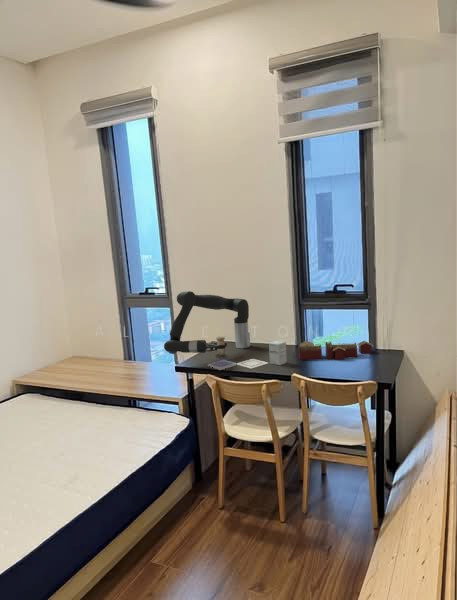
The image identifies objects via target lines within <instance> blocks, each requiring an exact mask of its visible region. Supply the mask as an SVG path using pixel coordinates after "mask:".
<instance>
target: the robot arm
mask: <svg viewBox="0 0 457 600" xmlns="http://www.w3.org/2000/svg"><path fill="white" fill-rule="evenodd" d="M176 302H177V304H179V306H181V309H180V311H179V313H178V315H177V316H176V318H175V319H174V321H173V323H172V325H171V329H170V332H169V336H170V338H169V340H167V341H166V342H164V344H163V348H164V350H165V351H166V352H167V353H169V354H171V355H175V354H176V353H178V352H180V353H183V354H187V353H188V354H189V353H190V354H191V353H193V354H204V353H206V352H213V351H218V349H225V350H226V347H228V345H227V342H224V345H218V343H217V341H212V340H211V341H209V342H207V341H206V340H205V339H197V340H195V339H194V340H181V336H182V334H183V330H184V328H185V325H186V322H187V319H188V317H189V315H190V314H191V311H192V310H193V307H199V308H203V309H208V310H214V311H215V310H217V311H218V310H219V311H220V310H229V311H233V312H235V313H237V316H236V317H235V318H234V319H233V322H234V339H235V340H234V341H235V348H236V349H246V348H250V347H251V338H250V337H251V335H250V332H249V314H250V313H249V311H250V310H249V309H250V306H249V303H248V302H249V301H247V300H246V299H244V298H238V297H236V298H226V297H224V296H220V295H215V294H195V292H193V291H191V290H189V291H187V290H186V291H181V292H180V293H178V294H177V296H176Z"/></svg>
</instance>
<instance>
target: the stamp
mask: <svg viewBox="0 0 457 600" xmlns="http://www.w3.org/2000/svg"><path fill="white" fill-rule="evenodd" d="M225 340H226V338H225V336H223V335H219V336H217V337H216V342H217V343H218V344H217V345H224V343H225ZM217 353H218V354H215V358H216V359H219V360H224V359H226V358H228V357H229V354H228V353H226V348H225V349H218V350H217Z"/></svg>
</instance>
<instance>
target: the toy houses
mask: <svg viewBox="0 0 457 600" xmlns="http://www.w3.org/2000/svg"><path fill="white" fill-rule="evenodd" d="M324 344H325V357H326V359H327V360H333V359H334V360H335V361H344V360H345V359H350V358H349V357H355V358H358V352H359V354H360V353H361V354H360V355H363V354H366V355H368V354H369V355H370V354H373V352H372V348H373V347H374V345H373V344H372V343H370V342H368V341H365V340H363V341H361V342H359V343H357V342H349V343H348V342H340V343H339V342H337V343H332V341H325V343H324ZM297 346H298V347H297V348H298V360H299V361H306V360H307V361H308V360H311V361H313V360H323V353H322V344H321V343H320V344H314V342H311V341H308V340H304V341H303V342H301V343H300V345H299V344H298V345H297Z"/></svg>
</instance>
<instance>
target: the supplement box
mask: <svg viewBox="0 0 457 600" xmlns="http://www.w3.org/2000/svg"><path fill="white" fill-rule="evenodd" d="M268 350H269V351H268V352H269V364H272V365H278V366H282V365H284V364H286V363H287V341H281V340H273V341H271V342H269V343H268Z"/></svg>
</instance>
